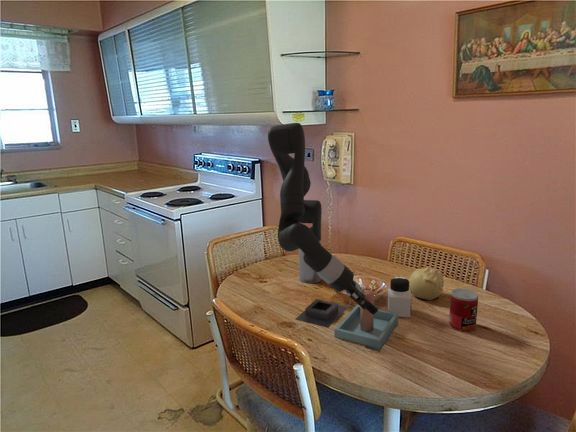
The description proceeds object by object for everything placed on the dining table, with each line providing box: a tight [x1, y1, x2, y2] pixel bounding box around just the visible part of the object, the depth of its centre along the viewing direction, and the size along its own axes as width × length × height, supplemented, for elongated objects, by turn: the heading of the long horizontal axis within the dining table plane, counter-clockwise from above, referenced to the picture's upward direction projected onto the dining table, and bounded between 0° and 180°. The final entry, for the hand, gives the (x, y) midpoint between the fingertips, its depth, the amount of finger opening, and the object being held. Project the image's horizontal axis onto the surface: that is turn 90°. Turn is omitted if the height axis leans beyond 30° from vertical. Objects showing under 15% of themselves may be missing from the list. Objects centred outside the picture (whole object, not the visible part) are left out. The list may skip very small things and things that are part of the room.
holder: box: [294, 298, 348, 329], centre depth 138 cm, size 16×12×4 cm
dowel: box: [360, 289, 375, 332], centre depth 126 cm, size 4×4×12 cm
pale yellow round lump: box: [408, 266, 445, 301], centre depth 149 cm, size 12×12×11 cm
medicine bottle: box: [387, 276, 412, 318], centre depth 137 cm, size 7×7×12 cm
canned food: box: [448, 288, 479, 332], centre depth 128 cm, size 8×8×11 cm
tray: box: [333, 304, 399, 353], centre depth 127 cm, size 18×14×4 cm
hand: (371, 305), depth 125 cm, fingers open, 8 cm apart
